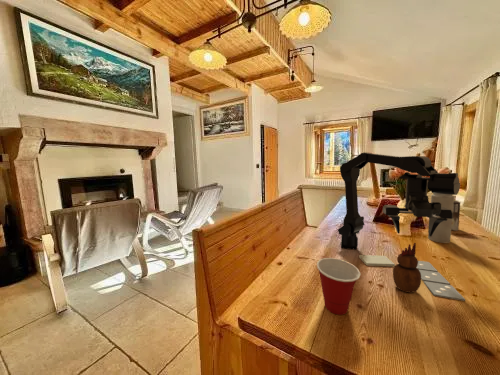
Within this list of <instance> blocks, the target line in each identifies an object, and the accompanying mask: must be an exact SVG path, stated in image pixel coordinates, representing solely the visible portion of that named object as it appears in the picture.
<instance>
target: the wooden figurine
mask: <svg viewBox="0 0 500 375" xmlns="http://www.w3.org/2000/svg"><path fill="white" fill-rule="evenodd" d="M416 245H417V244H416V242H413V246H412V245H411V244H410V243H409V244H408V247H405V248H404V249H402V250H401V253H399V254H398V255H397V259H396V260H397V264H395V266H394V267H393V269H392V277H393V282H394V284H395V286H396V288H398V290H401V291H403V292H407V293H415V292H417V291H418V290H419V289H420V286H421V284H422V280H421V273H420V271H419V270H418V268H416V267H417V265H418V261H419V260H418V258H417V256H416V247H417V246H416ZM411 246H412V248H411Z"/></svg>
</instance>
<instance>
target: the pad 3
mask: <svg viewBox="0 0 500 375" xmlns="http://www.w3.org/2000/svg"><path fill="white" fill-rule="evenodd" d="M423 284H424V285H425V286H426V288H427V289H428V290H429V291H430V293H431V294H432V295H433V297H440V298H445V299H450V300H451V299H452V300H457V301H463V302H465V301H466V299H465V297H464V296H463V295H462V294H461V293H459V291H457V288H455V287H454V286H453V285H451V284H450V285H446V284H439V283H433V282H426V281H423Z"/></svg>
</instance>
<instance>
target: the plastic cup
mask: <svg viewBox="0 0 500 375" xmlns="http://www.w3.org/2000/svg"><path fill="white" fill-rule="evenodd" d="M316 268H317V270H318V274H319V278H320V284H321V290H322V296H323V300H324V301H323V302H324V306H325V308H326V309H327V311H328V312H330V313H332V314H333V315H337V316H341V315H345V314H347V313H348V310H349V307H350V303H351V300H352V296H353V292H354V288H355V284H356V283H357V281H358V280H359V278H361V277H360V276H361V272H360V270H359V268H358V267H357V266H356V265H354V264H352V263H351V262H348V261H346V260H342V259H341V258H333V257H324V258H321V259H319V260H318V261H317V262H316Z"/></svg>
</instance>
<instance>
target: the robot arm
mask: <svg viewBox="0 0 500 375" xmlns="http://www.w3.org/2000/svg"><path fill="white" fill-rule="evenodd" d="M368 163H371V164H375V165H376V164H377V165H381V166H382V165H383V166H390V167H395V168H397V169H400V170H402V171H405V172H404V173H403V174H402V175H400V177H399V179H402V180H406V187H405V190H406V191H405V193H404V196H405V204H404V206H403V207H398V206H397V205H395V204H394V205H393V204H384V205H383V206H382V213H383V214H384V215H386V216H387V217H389V218H391V220H392V222H393V224H394V225H393V226H394V227H395V230H396V232H397V234H398V235H399V234H400V232H401V228H400V227H401V226H400V225H401V224H400V218H401V216H400V215H399V214H411V215H412V214H413V216H414V217H416V218H427V219H428V227H427V228H428V230H427V232H428V234H429V236H432V234H433V233H434V231H435V229H436V228H437V226H438V225H439V224H440V223H441V222H443V221H447V220H448V219H453V211H451V210H450V209H447V208H445V207H441V203H439V202H432V203H431V202H430V200H429V195H428V191H429V192H431V193H432V194H433V193H437V194H450V195H452V196H457V195H458V194H459V193H460V190H461V182H460V178H459V173H458V172H451V173H450V172H449V173H443V172H442V173H439V172H438V171H437V169H435V167H434V166H433V165H432V160H431V158H429V157H428V156H425V155H414V156H413V155H410V156H409V155H408V156H396V155H388V154H381V153H380V154H378V153H372V152H366V151H365V152H361V153H360V154H358V155H357V156H355V157H353V158H351V159H349V160H348V161H347V162H343V163H342V164H341V165H340V166H339V171H340V173H339V174H340V176H341V178H342V180H343V181H344V190H345V191H344V192H345V208H346V209H345V210H346V212H345V213H346V214H345V215H344V218H343V222H342V223H343V225H342V226H341V227H339V228H338V229H337V232H338V234H339V235H341V237H340V246H341V247H340V248H342V249H349V250H350V249H351V250H357V249H358V245H359V244H358V243H359V238H358V234H357V233H360V231H361V230H362V229H364V226H366V225H365V221H364V220H365V217H364V216H361V215H360V213H359V202H358V201H359V200H358V184H357V182H358V179H359V177H360V174H361V169H363V168H365V167H366V166H367V164H368ZM446 218H447V219H446Z"/></svg>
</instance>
